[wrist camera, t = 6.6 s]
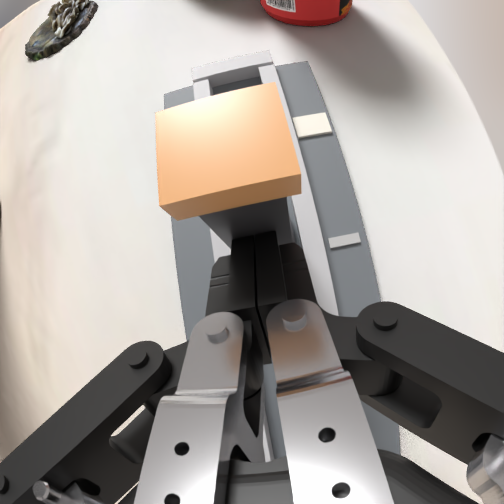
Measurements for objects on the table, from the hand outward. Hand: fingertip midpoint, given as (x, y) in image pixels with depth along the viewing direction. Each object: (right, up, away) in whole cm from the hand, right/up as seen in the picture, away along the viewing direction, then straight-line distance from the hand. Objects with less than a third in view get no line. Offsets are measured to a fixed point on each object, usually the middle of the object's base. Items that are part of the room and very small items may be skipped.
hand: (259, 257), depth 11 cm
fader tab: (+1, 0, +5) cm, 5 cm away
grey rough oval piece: (-24, +28, +17) cm, 41 cm away
